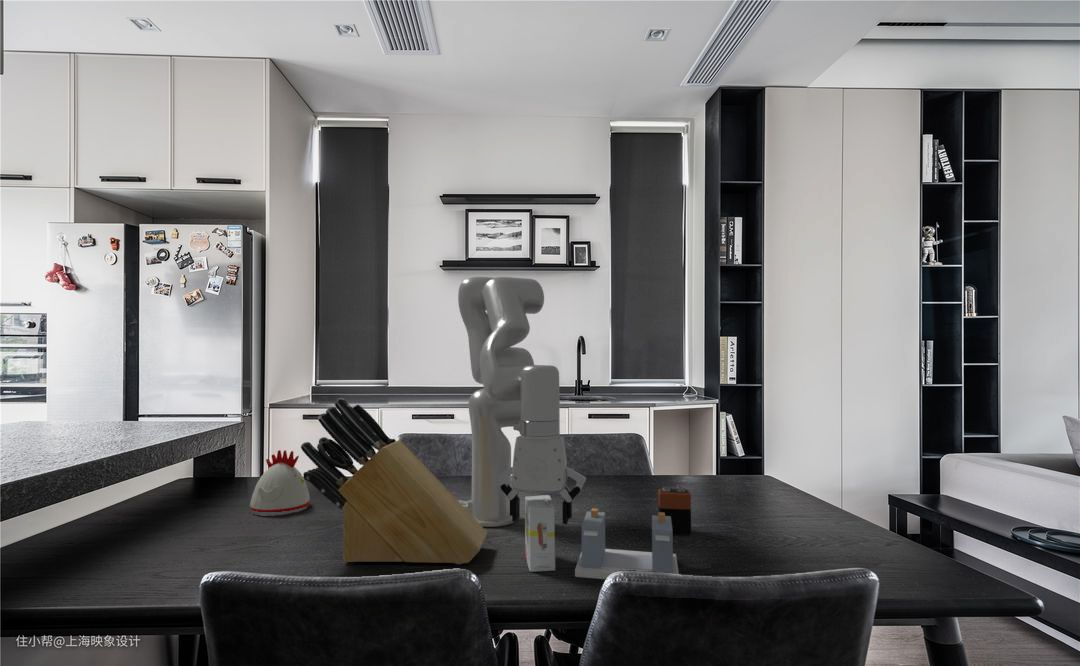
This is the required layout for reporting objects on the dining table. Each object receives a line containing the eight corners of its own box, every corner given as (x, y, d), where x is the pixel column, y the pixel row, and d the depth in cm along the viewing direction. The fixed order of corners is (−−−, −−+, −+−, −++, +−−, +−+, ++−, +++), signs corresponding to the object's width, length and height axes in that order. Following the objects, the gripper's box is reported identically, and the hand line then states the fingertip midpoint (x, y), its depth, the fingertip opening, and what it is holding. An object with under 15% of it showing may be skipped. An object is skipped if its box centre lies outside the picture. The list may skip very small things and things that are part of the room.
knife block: (320, 543, 113) (324, 395, 114) (488, 546, 111) (489, 396, 113) (293, 563, 101) (298, 398, 103) (479, 567, 100) (481, 399, 101)
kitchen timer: (294, 516, 132) (296, 455, 133) (238, 516, 132) (240, 454, 133) (318, 502, 146) (319, 446, 147) (267, 501, 146) (269, 446, 147)
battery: (691, 535, 119) (691, 489, 119) (660, 534, 120) (659, 488, 120) (688, 529, 123) (688, 485, 124) (658, 528, 124) (657, 484, 125)
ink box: (524, 555, 106) (524, 494, 107) (548, 554, 107) (549, 494, 107) (528, 572, 98) (529, 506, 98) (555, 571, 98) (555, 505, 99)
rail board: (574, 576, 96) (574, 520, 96) (583, 553, 107) (583, 502, 108) (679, 585, 92) (678, 526, 93) (676, 560, 104) (675, 508, 104)
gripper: (491, 431, 101) (491, 524, 100) (582, 432, 98) (583, 529, 97) (501, 427, 109) (501, 513, 107) (587, 428, 105) (588, 518, 104)
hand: (540, 521), depth 102 cm, fingers open, 9 cm apart
